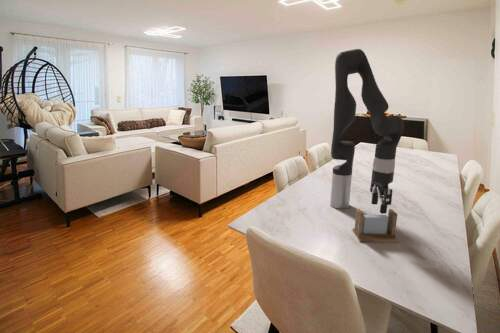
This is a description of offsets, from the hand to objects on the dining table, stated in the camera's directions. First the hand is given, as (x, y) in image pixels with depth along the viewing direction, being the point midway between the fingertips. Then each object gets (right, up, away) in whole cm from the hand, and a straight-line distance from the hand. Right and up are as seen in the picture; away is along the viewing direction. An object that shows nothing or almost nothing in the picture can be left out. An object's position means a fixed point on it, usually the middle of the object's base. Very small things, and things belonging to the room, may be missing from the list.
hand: (378, 208), depth 115 cm
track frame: (-1, -12, +3) cm, 12 cm away
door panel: (-1, -11, +2) cm, 11 cm away
